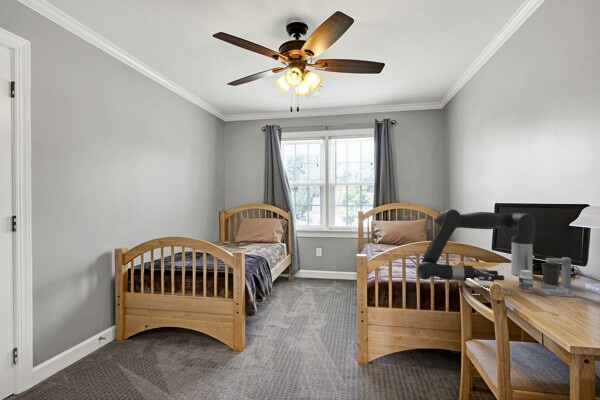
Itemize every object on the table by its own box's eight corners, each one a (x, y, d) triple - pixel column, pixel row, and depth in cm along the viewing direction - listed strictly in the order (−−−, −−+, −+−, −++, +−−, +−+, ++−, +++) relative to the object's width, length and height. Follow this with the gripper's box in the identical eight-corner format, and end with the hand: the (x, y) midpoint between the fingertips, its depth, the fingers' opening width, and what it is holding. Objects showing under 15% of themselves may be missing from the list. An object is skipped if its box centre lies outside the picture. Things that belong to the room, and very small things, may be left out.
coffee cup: (566, 285, 145) (566, 264, 144) (548, 285, 145) (549, 264, 145) (552, 281, 153) (552, 261, 152) (535, 281, 153) (536, 261, 153)
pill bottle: (518, 287, 142) (518, 268, 142) (532, 289, 139) (532, 270, 139) (519, 291, 137) (519, 271, 137) (534, 292, 134) (534, 272, 134)
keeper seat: (536, 288, 141) (536, 254, 141) (562, 290, 138) (563, 255, 138) (547, 295, 132) (547, 259, 131) (575, 297, 129) (575, 260, 128)
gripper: (465, 268, 139) (506, 271, 134) (458, 262, 152) (495, 264, 148) (465, 285, 139) (506, 288, 134) (458, 277, 153) (495, 279, 148)
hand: (500, 275), depth 141 cm, fingers open, 8 cm apart
